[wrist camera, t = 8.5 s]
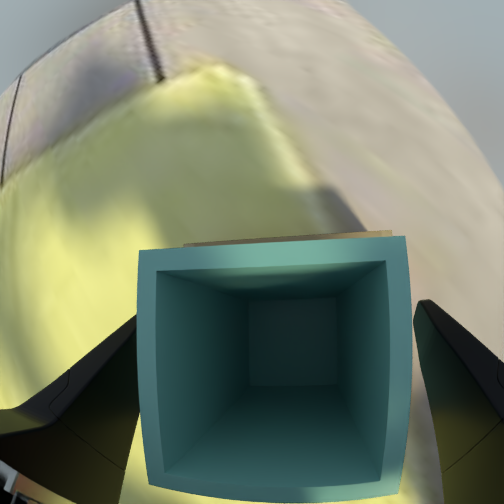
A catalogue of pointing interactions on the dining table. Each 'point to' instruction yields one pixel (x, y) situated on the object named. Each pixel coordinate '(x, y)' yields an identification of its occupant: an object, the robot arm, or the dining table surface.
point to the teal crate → (276, 368)
